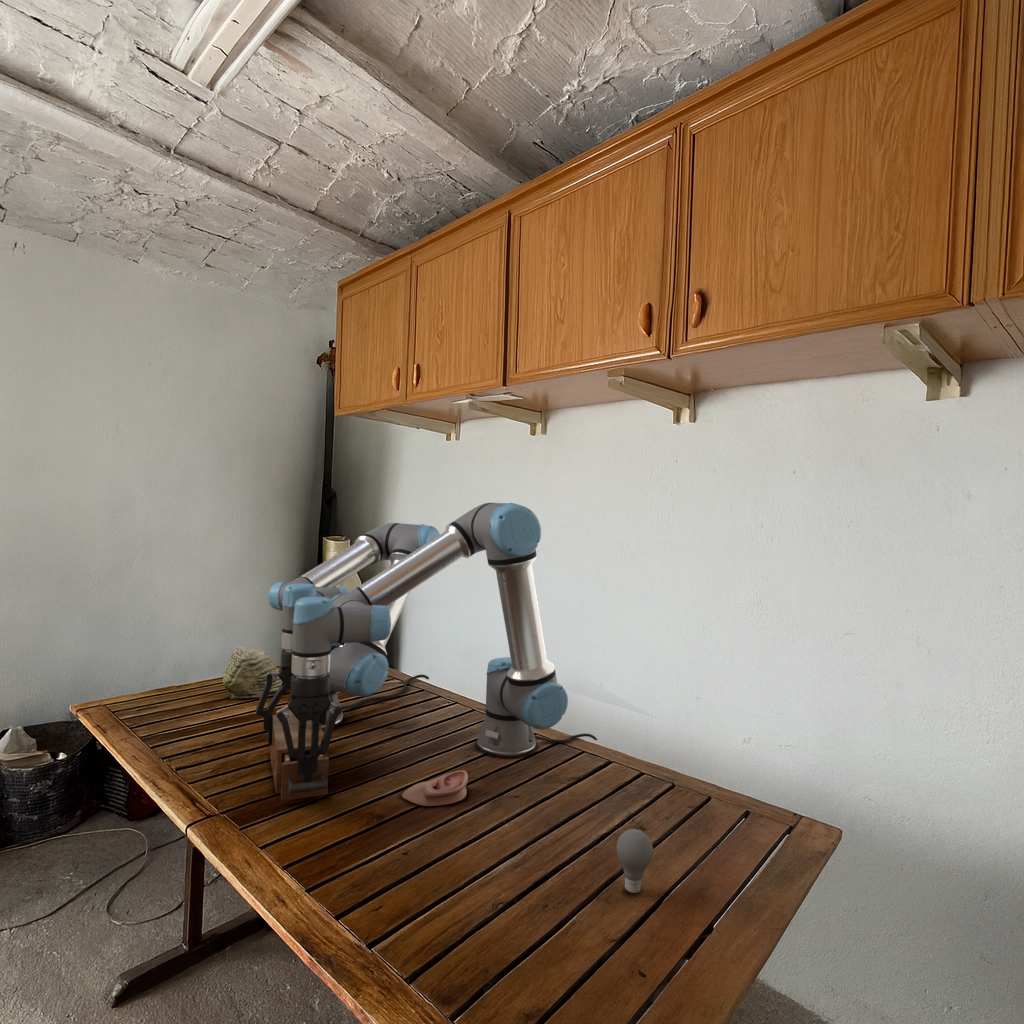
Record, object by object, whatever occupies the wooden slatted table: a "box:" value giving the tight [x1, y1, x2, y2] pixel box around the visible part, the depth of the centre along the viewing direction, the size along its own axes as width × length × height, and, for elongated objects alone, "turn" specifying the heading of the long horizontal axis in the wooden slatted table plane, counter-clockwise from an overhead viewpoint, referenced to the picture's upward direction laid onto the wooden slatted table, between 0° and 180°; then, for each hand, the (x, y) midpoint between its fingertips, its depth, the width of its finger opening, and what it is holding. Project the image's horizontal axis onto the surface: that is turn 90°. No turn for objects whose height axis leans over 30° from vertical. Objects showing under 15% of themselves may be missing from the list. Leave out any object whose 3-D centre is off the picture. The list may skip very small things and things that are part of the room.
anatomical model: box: [401, 769, 469, 807], centre depth 137 cm, size 13×4×12 cm
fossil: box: [222, 646, 282, 699], centre depth 198 cm, size 9×18×15 cm, turn 132°
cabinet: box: [269, 714, 329, 794], centre depth 146 cm, size 22×10×10 cm, turn 24°
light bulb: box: [615, 828, 654, 894], centre depth 106 cm, size 6×6×10 cm
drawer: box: [280, 750, 330, 802], centre depth 138 cm, size 26×9×8 cm, turn 24°
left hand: (294, 740), depth 152 cm, fingers closed on cabinet, 10 cm apart
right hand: (306, 788), depth 129 cm, fingers closed
